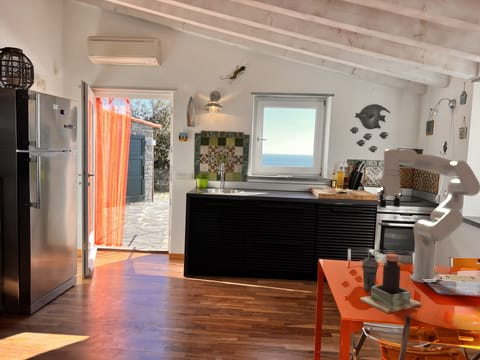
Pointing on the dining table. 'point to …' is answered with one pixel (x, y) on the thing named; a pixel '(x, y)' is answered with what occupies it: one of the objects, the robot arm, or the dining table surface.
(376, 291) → the bottle caddy
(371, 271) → the beverage cup
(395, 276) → the vinegar
